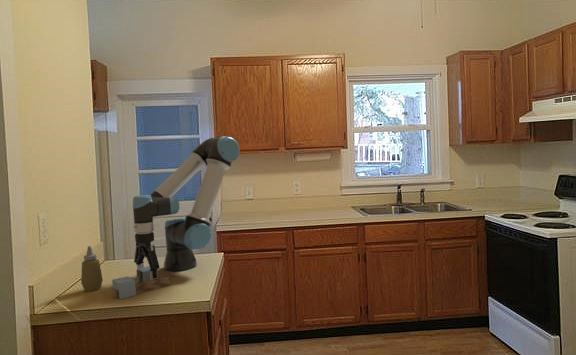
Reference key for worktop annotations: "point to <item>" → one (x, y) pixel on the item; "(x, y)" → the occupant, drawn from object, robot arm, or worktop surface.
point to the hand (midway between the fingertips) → (147, 282)
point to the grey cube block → (144, 274)
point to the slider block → (125, 286)
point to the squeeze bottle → (91, 272)
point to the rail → (147, 286)
